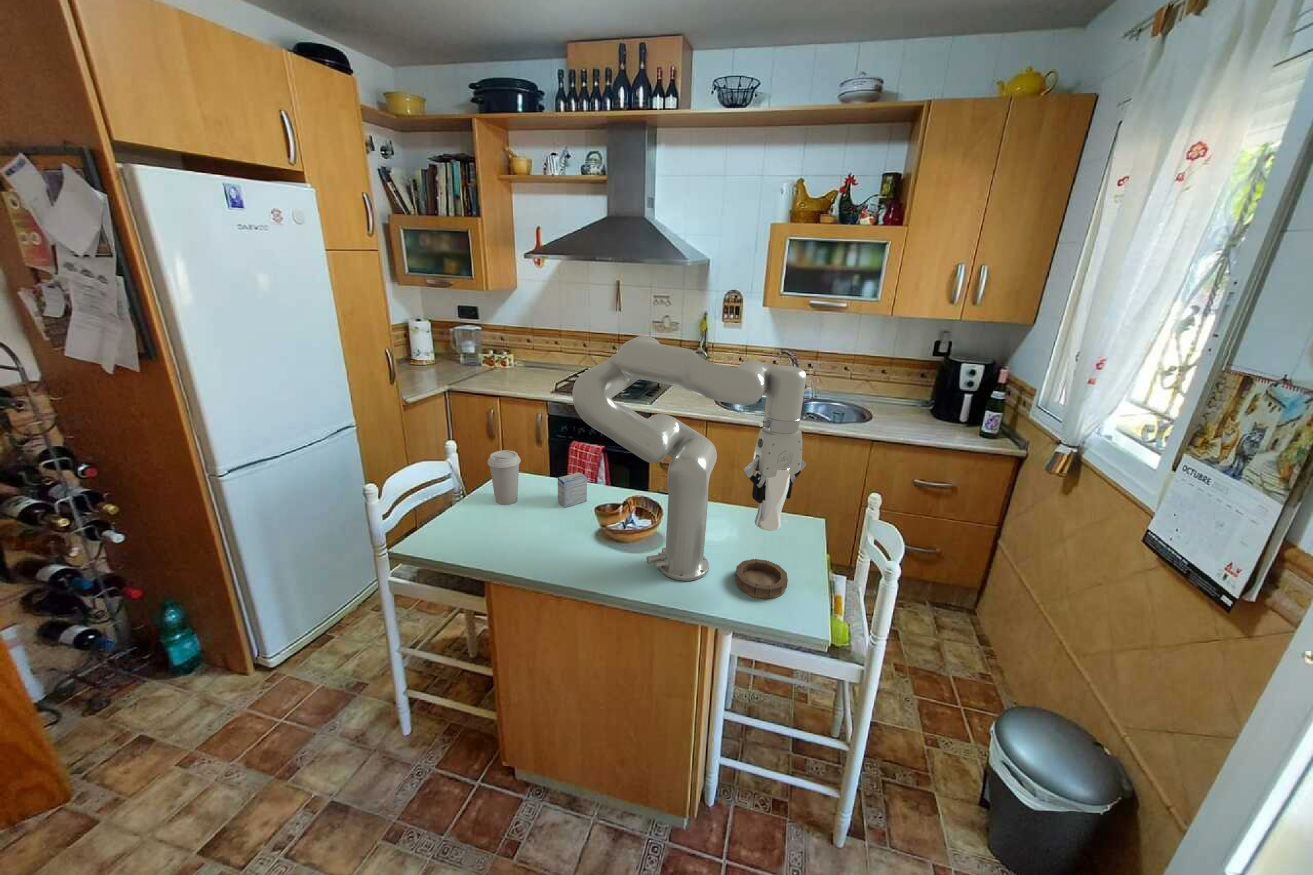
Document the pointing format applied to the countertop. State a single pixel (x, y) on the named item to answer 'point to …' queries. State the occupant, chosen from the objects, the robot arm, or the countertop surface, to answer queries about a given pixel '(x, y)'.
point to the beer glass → (773, 501)
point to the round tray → (761, 579)
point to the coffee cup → (505, 476)
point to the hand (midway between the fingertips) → (771, 497)
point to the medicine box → (572, 489)
